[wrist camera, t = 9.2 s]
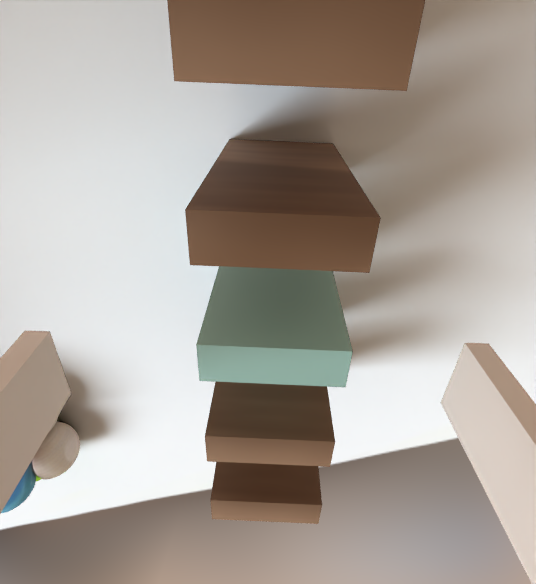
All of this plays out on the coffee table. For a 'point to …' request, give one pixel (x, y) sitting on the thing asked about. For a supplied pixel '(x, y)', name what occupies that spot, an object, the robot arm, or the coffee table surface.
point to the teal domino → (274, 329)
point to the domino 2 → (281, 210)
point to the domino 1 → (295, 42)
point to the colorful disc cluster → (47, 461)
